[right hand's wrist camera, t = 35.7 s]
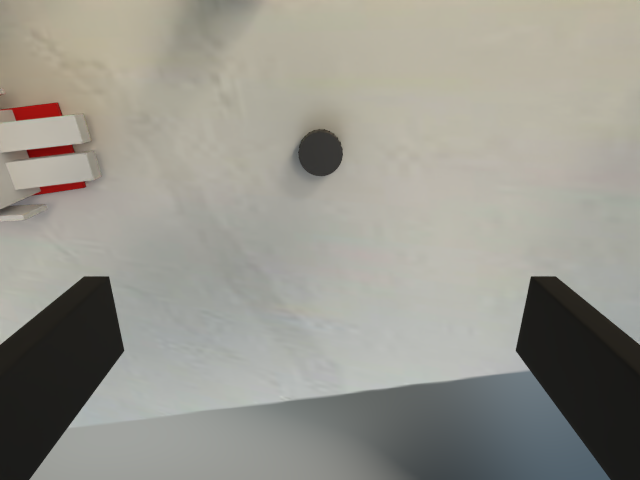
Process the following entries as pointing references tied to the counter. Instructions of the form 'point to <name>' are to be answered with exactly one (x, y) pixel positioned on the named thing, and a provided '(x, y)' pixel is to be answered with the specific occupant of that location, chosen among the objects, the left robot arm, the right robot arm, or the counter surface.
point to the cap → (320, 152)
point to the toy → (41, 156)
